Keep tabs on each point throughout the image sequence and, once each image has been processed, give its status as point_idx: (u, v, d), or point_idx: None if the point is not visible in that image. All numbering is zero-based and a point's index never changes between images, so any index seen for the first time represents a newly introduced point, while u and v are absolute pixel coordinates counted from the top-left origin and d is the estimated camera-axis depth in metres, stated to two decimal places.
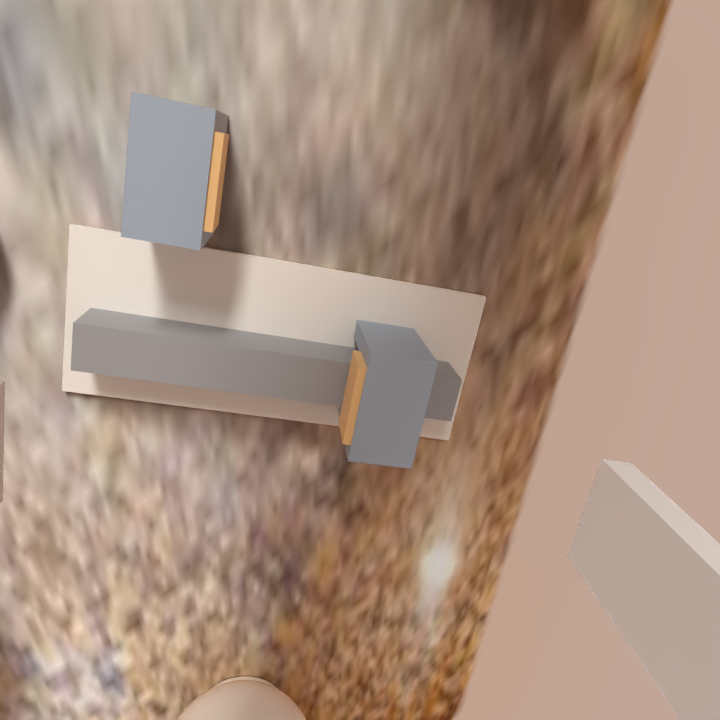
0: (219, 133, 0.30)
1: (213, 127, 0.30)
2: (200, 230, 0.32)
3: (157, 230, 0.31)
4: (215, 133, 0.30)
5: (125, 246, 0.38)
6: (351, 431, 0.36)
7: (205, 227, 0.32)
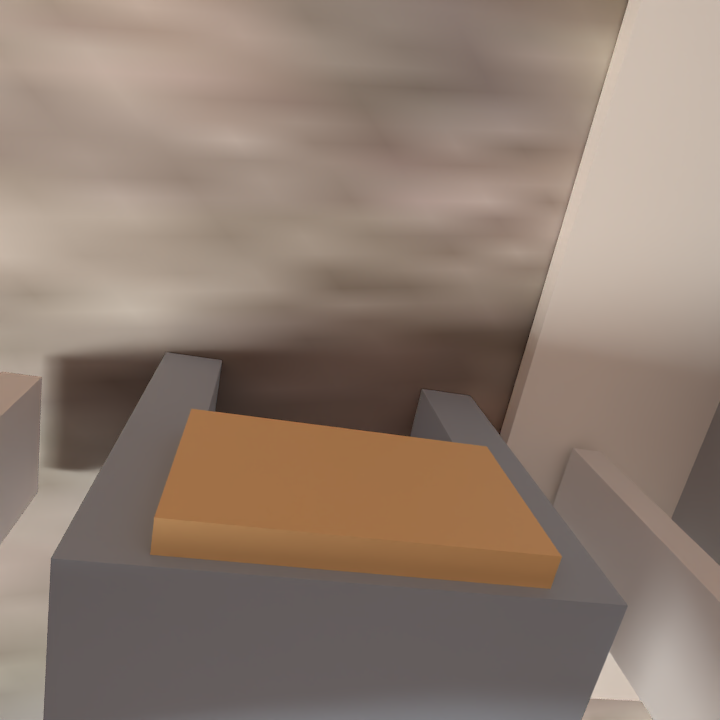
0: (157, 535, 0.07)
1: (132, 563, 0.07)
2: (550, 607, 0.08)
3: None
4: (159, 548, 0.07)
5: None
6: None
7: (539, 582, 0.08)
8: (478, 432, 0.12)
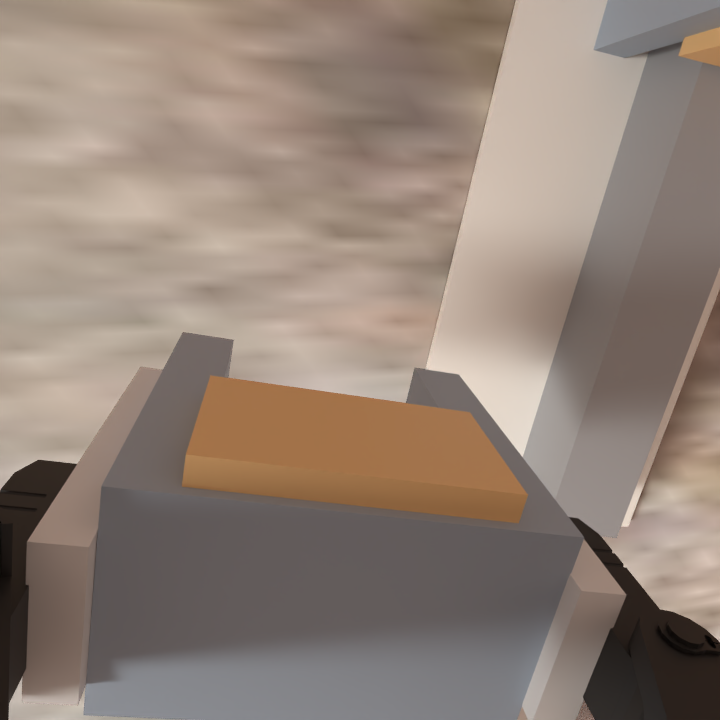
0: (188, 469, 0.08)
1: (167, 492, 0.08)
2: (518, 537, 0.09)
3: (506, 650, 0.10)
4: (189, 481, 0.08)
5: None
6: None
7: (509, 517, 0.09)
8: (464, 404, 0.14)
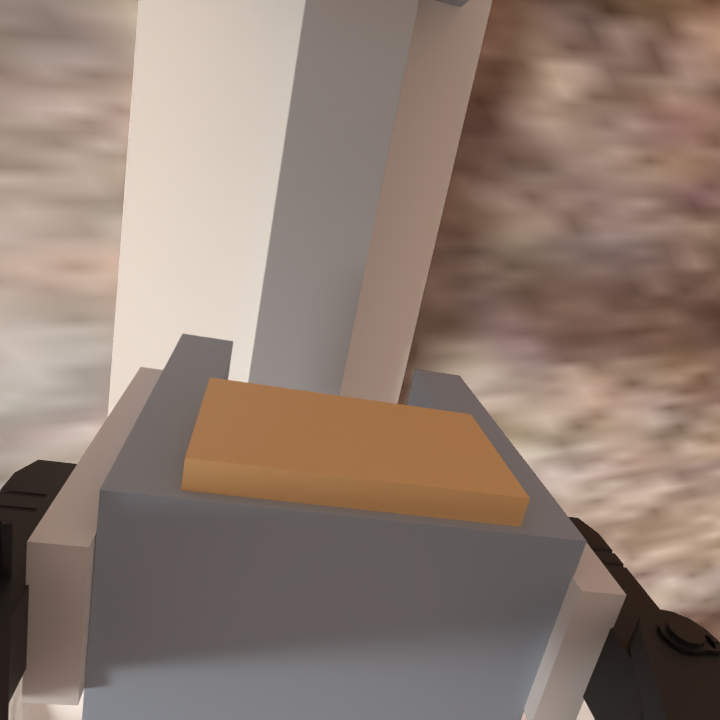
0: (187, 473, 0.08)
1: (166, 496, 0.08)
2: (520, 541, 0.09)
3: (507, 654, 0.10)
4: (188, 485, 0.08)
5: None
6: None
7: (510, 520, 0.09)
8: (465, 406, 0.14)
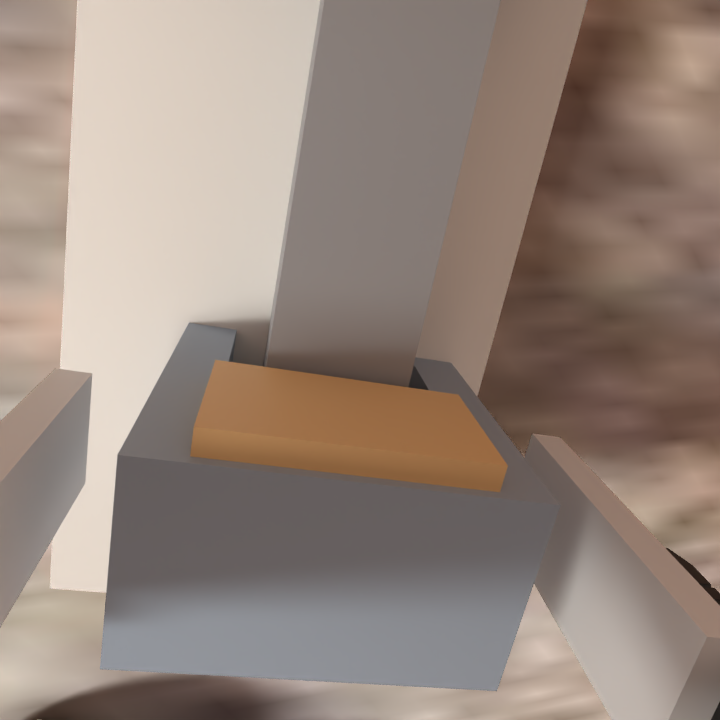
0: (195, 440, 0.09)
1: (177, 461, 0.09)
2: (499, 505, 0.10)
3: (490, 611, 0.11)
4: (197, 451, 0.09)
5: (83, 491, 0.17)
6: None
7: (490, 486, 0.10)
8: (455, 389, 0.14)
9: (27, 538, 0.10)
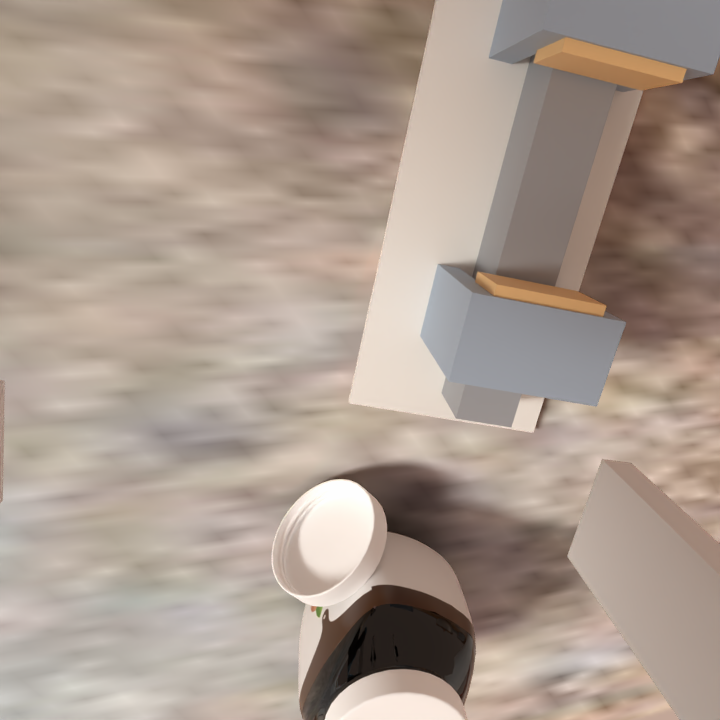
0: (496, 289, 0.25)
1: (490, 296, 0.25)
2: (603, 320, 0.26)
3: (596, 367, 0.27)
4: (496, 294, 0.25)
5: (374, 350, 0.33)
6: (664, 66, 0.23)
7: (599, 313, 0.26)
8: None
9: None
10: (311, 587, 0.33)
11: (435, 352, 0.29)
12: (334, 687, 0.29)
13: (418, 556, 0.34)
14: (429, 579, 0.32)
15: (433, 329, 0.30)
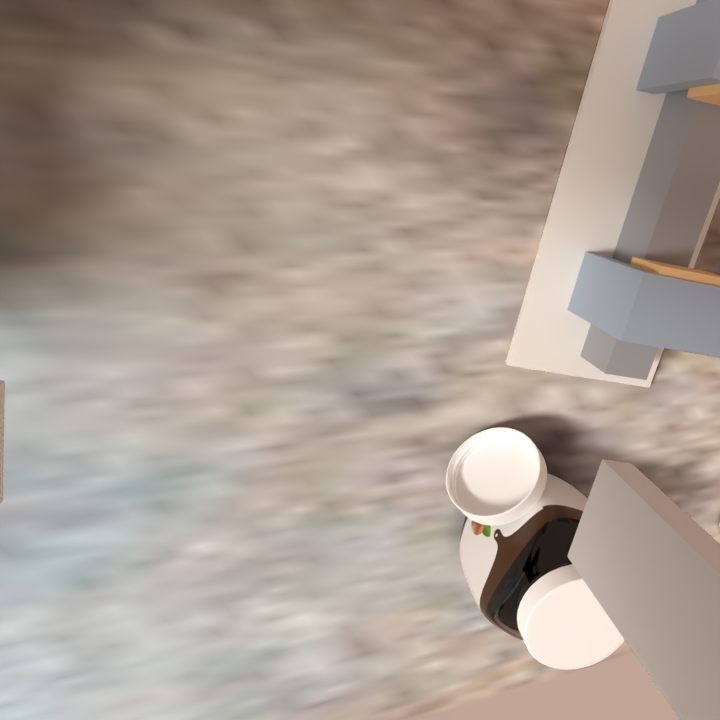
0: (661, 270, 0.34)
1: (657, 275, 0.34)
2: None
3: None
4: (660, 273, 0.34)
5: (531, 321, 0.41)
6: None
7: None
8: None
9: None
10: (484, 512, 0.41)
11: (595, 320, 0.37)
12: (524, 581, 0.37)
13: (565, 486, 0.42)
14: (580, 502, 0.40)
15: (588, 303, 0.39)
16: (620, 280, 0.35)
